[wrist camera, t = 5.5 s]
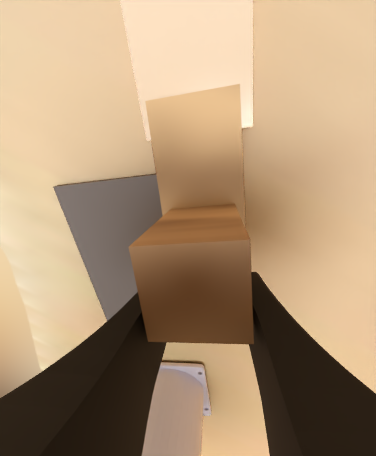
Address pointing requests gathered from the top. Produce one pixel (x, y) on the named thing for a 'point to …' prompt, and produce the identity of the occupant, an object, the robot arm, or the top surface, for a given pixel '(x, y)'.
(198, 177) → the brown l-shaped block
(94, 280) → the mat
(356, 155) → the top surface
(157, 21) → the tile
